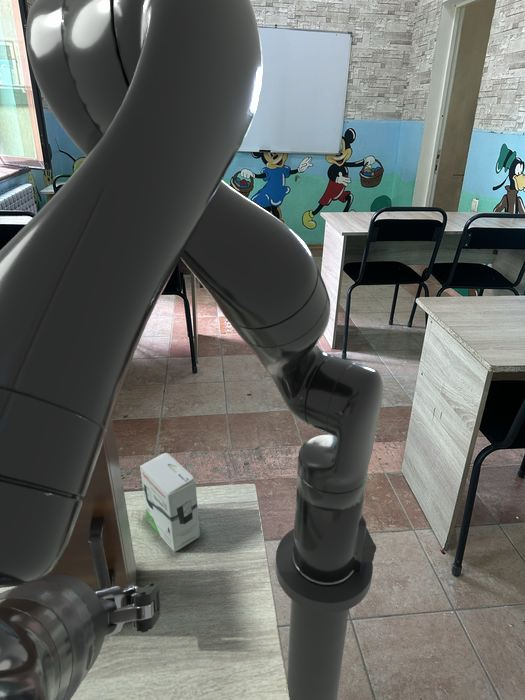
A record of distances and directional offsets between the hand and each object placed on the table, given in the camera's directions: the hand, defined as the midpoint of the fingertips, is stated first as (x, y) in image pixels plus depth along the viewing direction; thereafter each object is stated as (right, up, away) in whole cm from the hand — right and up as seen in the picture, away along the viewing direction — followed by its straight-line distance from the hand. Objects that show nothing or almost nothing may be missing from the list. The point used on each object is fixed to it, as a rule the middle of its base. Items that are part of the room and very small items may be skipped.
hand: (84, 603), depth 44 cm
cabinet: (-7, -10, +21) cm, 25 cm away
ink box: (+2, -5, +32) cm, 33 cm away
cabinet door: (-6, -13, +16) cm, 21 cm away
